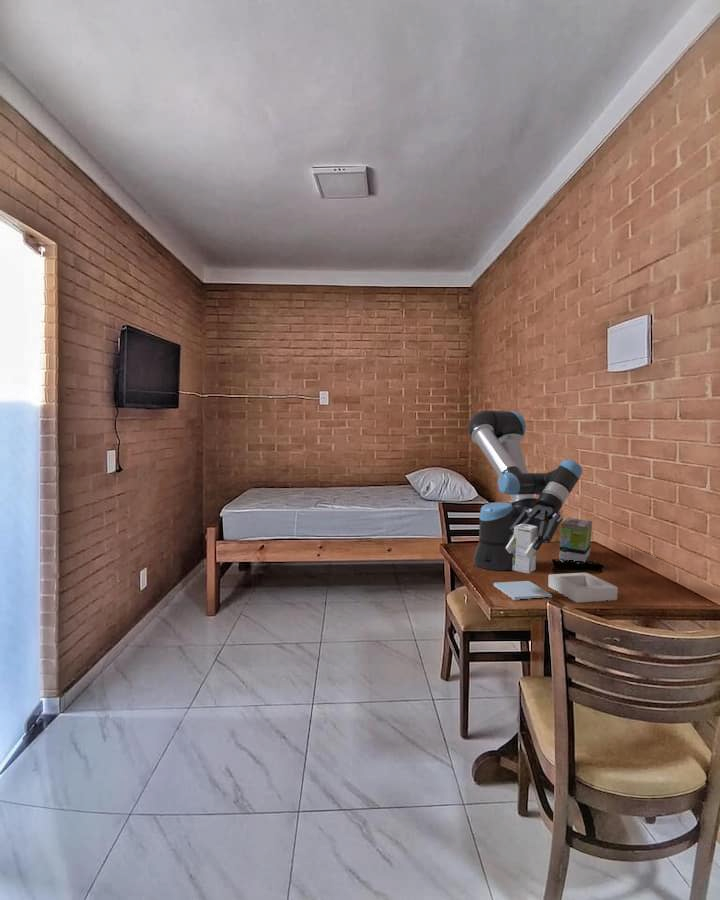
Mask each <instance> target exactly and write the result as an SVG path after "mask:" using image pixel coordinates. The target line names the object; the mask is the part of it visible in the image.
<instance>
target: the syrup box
mask: <svg viewBox="0 0 720 900" xmlns="http://www.w3.org/2000/svg"><path fill="white" fill-rule="evenodd" d="M537 533H538V527H537V526H533V525H529V524H520V525H517V526H515V527H514V540H513V551H512V553H513V560H512V569H511V570H512V571H514V572H519V573H523V574H524V573H525V574H531V573H533V572H534V571H536V568H537V552H538V550H536V551H535V553H534V554H533V556H532V558H531V559H528V558H527V556H526V555H525V552H526V550H527V549H528V547H529V546H530V544H531V542H532V541H533V539H534V538H535V537H536V538H537V539H538V537H537Z"/></svg>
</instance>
